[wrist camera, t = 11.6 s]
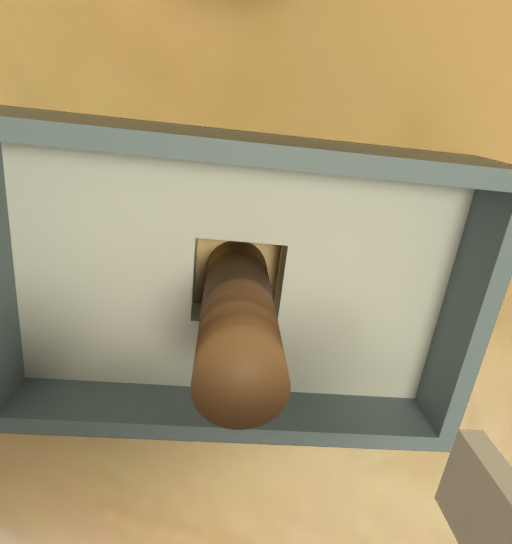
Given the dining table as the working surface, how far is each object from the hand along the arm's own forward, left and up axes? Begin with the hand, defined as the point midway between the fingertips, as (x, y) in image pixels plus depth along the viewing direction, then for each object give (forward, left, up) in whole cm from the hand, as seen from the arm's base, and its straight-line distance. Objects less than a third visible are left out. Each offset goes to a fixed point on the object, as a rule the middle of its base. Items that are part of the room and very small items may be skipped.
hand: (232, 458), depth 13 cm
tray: (0, 0, -15) cm, 15 cm away
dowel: (0, 0, -15) cm, 15 cm away
